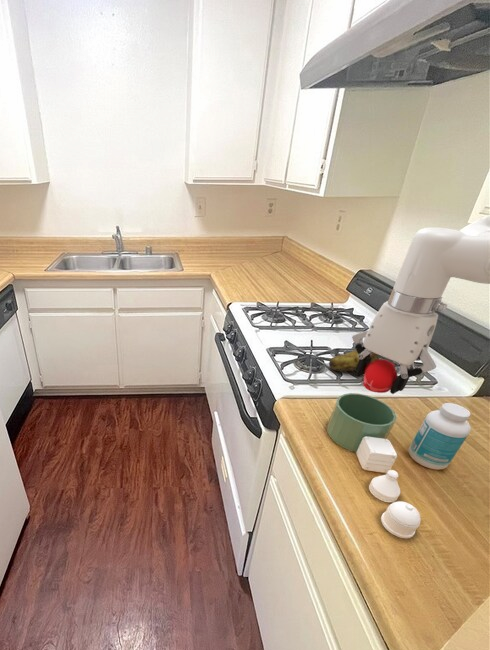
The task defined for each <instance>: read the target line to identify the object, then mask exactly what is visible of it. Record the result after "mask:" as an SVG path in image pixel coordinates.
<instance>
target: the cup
mask: <svg viewBox="0 0 490 650" xmlns="http://www.w3.org/2000/svg"><path fill="white" fill-rule="evenodd" d="M329 417H330V418H329V420H328V422H327V426H326V432H327V434H328V436H329V438H330V439H331V440H332V441H333V442H334V443H335V444H337V445H338V446H340V447H342V448H344V449H346V450H348V451H351V452H353V453H357V450H358V447H359V445H360V443H361V441H362V439H363V437H366V436H367V437H375V438H383V439H387V440H388V437H389V435H390V432H391V431H392V429H393V427H394V425H395V423H396V420H397V414H396V412H395V411H394V410H393V408H392V407H391V405H390V406H389V405H388V404H387V403H386V402H384V401H382V400H380V399H378V398H376V397H374V396H371V395H367V394H363V393H352V392H351V393H350V392H349V393H344V394H342V395H339V396H338V397H337V399H336V401H335V403H334V406H333V409H332V412H331V414H330V416H329Z"/></svg>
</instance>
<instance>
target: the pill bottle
mask: <svg viewBox="0 0 490 650" xmlns="http://www.w3.org/2000/svg"><path fill="white" fill-rule="evenodd" d="M470 416H471V412H470V411H469V409H467V408H466V407H464V406H462V405H459V404H457V403H453V402H444V403H442V405H441V406H440V407H439V409H436V410H432V411H429V412H428V413H427V414H426V416H425V418H424V420H423V422H422V423H421V425H420V427H419V429H418V431H417V432H416V434H415V435H414V438H413V439H412V442H411V444H410V446H409V448H408V454H409V456H410V457H411V459H412V460H413V461H414V462H416V463H417V464H419V465H421V466H423V467H425V468H428V469H431V470H437V471H438V470H439V471H440V470H444V469H446V468H448V467H449V465H450V463H451V462H452V460H453V459H454V457H455V456H456V454H457V453H458V451H459V450H460V448H461V447H462V445H463V444H464V442H465V441H466V440H467V437H468V436H469V435H470V434H471V430H472V428H471V425H470V423H469V421H468V420H469V419H470Z"/></svg>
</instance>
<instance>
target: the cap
mask: <svg viewBox="0 0 490 650" xmlns="http://www.w3.org/2000/svg"><path fill="white" fill-rule="evenodd" d="M397 376H399V375H398V373H397V370H396V366H395V363H393V361H391V360H390V361H389V360H387V359H384V358H383V359H382V358H381V359H380V358H379V360H376V361H373V362H371V363H369V364H368V365H367V366H366V367H365V370H364V375H363V382H362V386H363V387H364V388H365V389H366V390H368V391H370V392H373V393H379V394H385V393H387V392H390V390H391V388H392V386H393V384H394V382H395V379H396V377H397Z"/></svg>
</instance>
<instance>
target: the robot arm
mask: <svg viewBox="0 0 490 650" xmlns="http://www.w3.org/2000/svg"><path fill="white" fill-rule="evenodd" d="M451 278H455V279H460V280H465V281H468V282H472V283H477V284H483V285H484V284H485V285H490V214H487V215H486V216H484V217H482V218H479V219H478V220H475V221H473V222H471V223H469V224H467V225H466V226H464V227H462V228H461V229H455V228H448V227H438V226H437V227H436V226H431V227H423V228H421V229H419V230H418V231H416V233H414V235H413V238H412V240H411V242H410V245H409V247H408V250H407V252H406V254H405V257H404V260H403V262H402V265H401V267H400V270H399V273H398V275H397V277H396V280H395V283H394V285H393V288H392V290H391V292H390V295H389V298H388V299H387V300H386V301H385V302H383V304H382V305H381V307H380V308H379V309H378V311H377V313H376V315H375V316H374V318H373V319H372V322H371V323H370V326H369V328H368V329H367V330H364V331H361V332H358V333H356V334H355V333H354V334H353V335H352V336H351V338H352V341H353V343H354V345H355V346H354V347H355V350H357V352H358V354H359V355H358V358H359V359H360V360H359V362H358V365H357V367H356V370H355V372H356V373H355V374H354V375H355V377H357V378H359V377H362V376H364V370H365V367H366V366H367V365H368V364H369V363H370V362H371V360H372V359H371V358H372V357H370V355H371V354H373V353H376V354H378V355H379V357H380V356H381V357H383V358H385V359H388V360H390V361H391V362H395V363H397V364H399V370H400V374H399V375H398V376H397V377H396V379H395V382H394V384H393V386H392V388H391V390H389V393H390V394H392V395H394V394H396V393H397V392H402V391H403V390H404V389H405V388H406V385H407V384H408V381H409V379H410V378H412V377H415V376H420V375H423V374H425V373H428V372H430V371H433V370H435V369H436V368H437V364H436V363H435V361H434V360H433V357H432V356H431V354H430V353H429V351H428V350H429V347H430V343H431V341H432V339H433V336H434V333H435V329H436V327H437V323H438V319H439V314H438V313H437V312H442V313H443V312H445V311H446V309H447V307H448V304H447V303H444V302H443V301H442V299H443V297H442V296H443V294H444V292H445V290H446V288H447V287H448V284H449V282H450V280H451ZM363 339H364V340H363ZM415 361H416V362H417V361H421V363H422V365H421V366H418V367H415Z"/></svg>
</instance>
